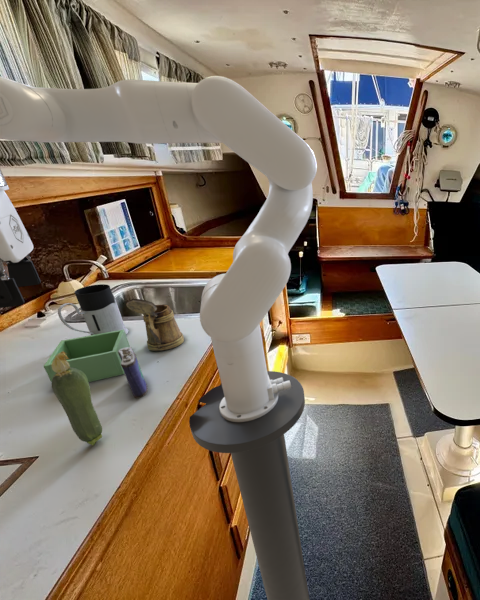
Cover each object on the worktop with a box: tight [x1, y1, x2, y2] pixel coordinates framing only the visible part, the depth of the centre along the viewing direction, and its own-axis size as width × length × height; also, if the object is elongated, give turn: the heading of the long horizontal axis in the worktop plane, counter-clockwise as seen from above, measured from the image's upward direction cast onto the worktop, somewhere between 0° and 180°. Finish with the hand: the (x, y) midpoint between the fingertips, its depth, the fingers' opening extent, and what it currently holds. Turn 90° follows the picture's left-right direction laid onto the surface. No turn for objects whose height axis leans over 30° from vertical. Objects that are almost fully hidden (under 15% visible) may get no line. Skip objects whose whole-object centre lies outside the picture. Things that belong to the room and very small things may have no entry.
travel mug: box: [57, 283, 129, 335], centre depth 91 cm, size 9×14×15 cm, turn 172°
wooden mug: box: [125, 298, 185, 352], centre depth 88 cm, size 9×14×18 cm, turn 14°
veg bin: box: [43, 330, 131, 383], centre depth 81 cm, size 13×13×7 cm
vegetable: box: [51, 352, 103, 446], centre depth 58 cm, size 4×4×20 cm
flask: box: [118, 346, 148, 399], centre depth 74 cm, size 9×3×11 cm, turn 43°
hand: (19, 295), depth 51 cm, fingers open, 9 cm apart
